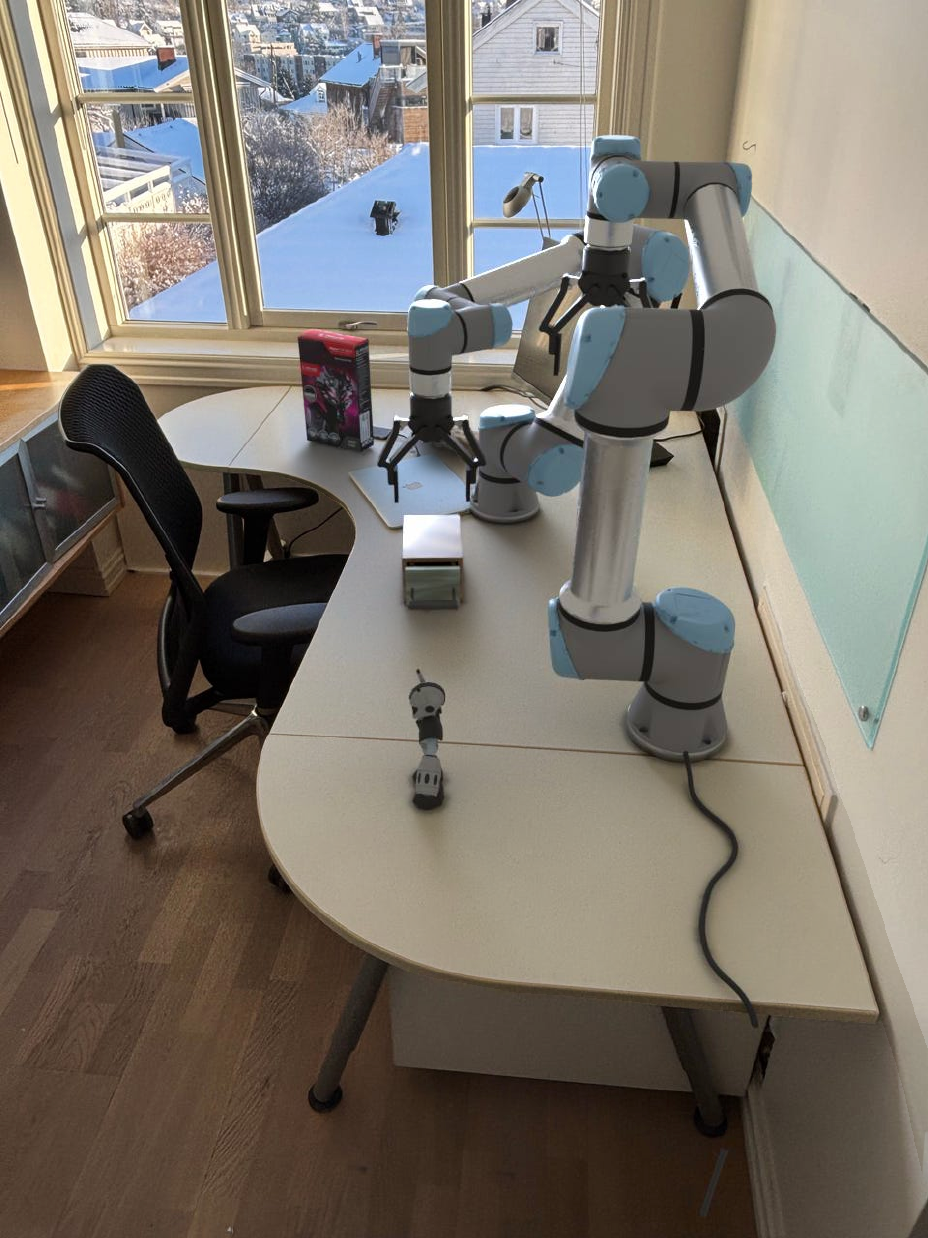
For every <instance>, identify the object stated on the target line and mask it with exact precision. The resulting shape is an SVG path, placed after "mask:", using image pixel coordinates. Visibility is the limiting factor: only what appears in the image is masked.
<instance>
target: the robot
mask: <svg viewBox="0 0 928 1238" xmlns="http://www.w3.org/2000/svg"><path fill="white" fill-rule="evenodd" d="M415 670H416V671H415V672H416V675H417V677H418V680H419V682H420V683H418V684H416V685H415V686H414V687H412V689H410V692H409V694H408V700H409V705H410V707H411V711H412V712H411V715H412V719H414V720H415V725H416V727H417V728H418V744H419V746H420V748H421V751H422V754H423V755H422V757H421V759H420V762H419V764H418V767H417V769H416V770H415V771H414V772H413V774H412V775H411V777H412V780H413V783H414V784H415V793H414V796H413V798H412V803H413V804H414V805H415V806H416V807H417V808H418V809H421V810H432V809H435V808H436V807H439V806H441V805H442V804H443V802H444V799H445V794H444V787H443V784H442V782H443V781H444V773H443V769H442V764H441V761H440V758H439V757H438V756H437V753H438V750H439V741H441V742H442V741H443V739H444V729H443V724H442V722H441V714H442V713H443V710H442V706H444V704H445V703H446V692H445V690H444V687H442V686H441V685H440V684H438V683H437V682H435V681H429V680H428V681H426V679H425V677H424V676H423V674H422V671H421V670H420V669H419V668H417V669H415Z"/></svg>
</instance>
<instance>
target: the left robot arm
mask: <svg viewBox="0 0 928 1238" xmlns="http://www.w3.org/2000/svg"><path fill="white" fill-rule="evenodd" d="M584 236H585V229H583V230H579V231H577V232H574V233H571V234H568V235H566V236H565V237H563V238H562V240H561V242H560V244H558V245H555V246H552V247H549V248H547V249H544V250H542V251H539V252H537V253H533V254H531V255H528V256H526V257H523V258H520V259H518V260H515V261H513V262H510V263H507V264H505V265H502V266H500V267H497V268H494V269H492V270H489V271H486V272H483V273H481V274H478V275H476V276H473V277H470V278H468V279H465V280H462V281H459V282H457V283H454V284H451V285H448V286H446V287H441V286H439V285H430V284H429V285H426V286H423V287H422V288H421V289H419V290H418V292H416V294H415V296H414V298H413V302H412V303H411V305H409V307H408V313H407V314H408V315H407V329H406V333H407V343H408V346H407V347H408V365H409V366H408V381H409V382H408V383H409V384H408V385H409V387H408V388H409V392H410V393H409V417H408V418H405V417H401V416H400V415H396V414H395V415H394V416H393V422H392V428H391V429H390V432H389V434H388V435H387V439H386V440H385V442H384V444H383V446H382V449H381V451H380V453H379V455H378V457H377V461H376V465H377V467H378V468H381V469H382V468H383V469H385V470H386V474H387V475H386V476H387V484H388V486H393V496H394V497H393V499H394V501H393V502H394V503H395V504H399V499H400V495H399V494H400V492H399V491H400V489H399V467H398V464H399V463H400V462H401V460H403V458H404V457H405V456H406V455H407V454H408V453H409V452H410V451H411V449H413V447H414V446H416V445H417V443H418V442H419V441H420V442H422V443H423V444H429V443H433V442H435V443H440V441H443V440H444V441H445V442H446V443H447V444H448V445H450V446H451V448H452V449H453V450H452V451H454V452H455V453H456V454H457V455H458V456H459V458H460V459H461V460H462V461H463V462H464V463H465V502H466V503H469V510H470V512H471V514H472V515H474V516H475V517H476V518H478V519H481V520H483V521H486V522H490V523H496V524H516V523H522V522H524V521H528V520H530V519H531V518H533V517H534V516H536V515H537V513H538V511H539V497H538V494H537V493H539V494H541V495H542V496H545V497H550V498H553V497H555V498H556V497H561V496H562V495H564V494H568V493H569V492H570V491H572V490H574V488H576V487H577V485H579V484H580V478H581V467H582V456H583V445H584V434H585V432H584V431H583V430H582V429H581V428H580V427H579V426H578V425H577V424H576V422H575V420H574V410H572V409H571V408H568V407H566V406H565V404H564V385H565V379H566V375H565V376H564V378H563V379H562V382H561V383H560V385H559V387H558V389H557V391H556V393H555V395H554V397H553V399H552V401H551V403H550V404H549V407H548V409H547V410H546V411H543V412H540V413H538V414H536V412H535V409H534V408H533V407H531V406H528V405H525V404H500V405H495V406H492V407H488V408H487V409H485V410H484V411H483V412H482V413H481V414H480V416H479V423H478V430H477V431H479V444H478V442H477V440H476V438H475V436H474V434H473V432H472V431H473V429H472V428H471V426H470V421H469V415H468V414H463V415H462V416H460V417H454V416H453V395H452V389H453V387H452V386H453V385H452V384H453V383H452V381H453V378H452V377H453V374H452V373H453V369H452V368H453V366H452V365H453V356H459V355H465V354H471V353H475V352H480V351H487V350H493V349H496V348H499V347H502V346H505V345H507V344H508V343H509V342H510V340H511V338H512V335H513V326H514V325H513V318H512V315H511V312H510V311H509V309H508V308H510V307H513V306H515V305H518V304H520V303H523V302H526V301H529V300H531V299H533V298H536V297H539V296H541V295H544V294H546V293H549V292H551V291H554V290H557V289H560V287H561V281H562V278H563V276H564V274H565V273H569V274H570V276H575V277H580V276H581V274H582V263H583V250H584V247H585V246H586V245H588V244H587V243H585V242H584ZM628 247H629V248H630V249H631V255H630V265H629V279H630V280H640V279H641V278H642V277H645V278H646V279H647V292H648V295H649V298H650V301H651V303H652V306H653V308H661V305H662V303H666V302H670V301H672V300H674V298H677V297H678V296H679V295H680V294H682V292H683V290H684V289H685V287H686V284H687V283H688V280H689V276H690V271H691V259H690V252H689V248H688V247H687V244H686V243H685V242H684V240H683V239H681V238H680V237H679V236H678V235H675V234H672V233H670V232H667V231H666V230H665V229H656V228H651V227H648V226H644V225H641V224H637V223H634V226H633V235H632V243H631V244H630V245H628ZM624 296H625V297H626V299H627V300H628V302H629V304H630V305H631V307H632V308H643V306H642V303H641V301H640V297H639V294H636V293H635V292H634V289H633V288H629V290H628V291H627V292H626V293H625V295H624ZM611 307H617V305H614V306H611ZM600 308H608V307H605V306H602V305H601V306H600ZM454 426H456V427H458V428H459V429H460V430H463V432H464V435H465V437H466V439H467V441H468V443H469V444H470V446H471V448H472V450H473V452H474V454H475V456H476V457H475V456H473V455H471V454H470V453H469V452H468V451H467V450H466V449H465V448H464V447H463V445H462V444H461V443H460V442H459V441H458V440H457V439H456V438H455V437H454V435H453V434H452V432H451V430H452V428H453V427H454ZM405 427H408V428H409V429H410V431H411V432H410V433H409V435H408V437H406V439H405V440H404V441H403V442H402V444H401V445H400V446H399V447H398V448H397V449H396V451H395V452H394V453H393V454H392V455H391V457H389V456H390V454H391V451H392V449H393V448H394V445H395V443H396V441H397V439H398V437H399V435H400V432H401V431H403V430H405ZM388 457H389V458H388ZM477 469H478V470H477ZM477 471H478V475H477ZM471 485H472V486H471ZM470 505H471V507H470ZM471 508H472V509H471Z"/></svg>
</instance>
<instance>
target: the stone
mask: <svg viewBox="0 0 928 1238" xmlns="http://www.w3.org/2000/svg"><path fill="white" fill-rule="evenodd" d="M451 432H452V434H453V435H454V437H455V438H456V439H457V440H458V441H459V442H460V443H461V444H462V445H463V447H464V448H465V449H466V450H467V451H468V452H469V453H470V454H471V455H472V456H473V457H474V458H476V456H475V454H474V452H473V450H472V448H471V446H470V444H469V443H468V441H467V439H466V437H465V435H464V432H463V430H460V429H459V428H458V426H456V425H454V427H453V428H452V430H451ZM472 432H473V434H474V436H475V438H476V440H477V442H478V444H479V430H472ZM432 443H433V446H434V447H437V448H443V447H444V448H445V449H449V450H450V451H454V450H453V449H452V448H451V446H450V445H448V444H447V443H446V442H445V441H444V440H443V441H440V443H435V442H432Z"/></svg>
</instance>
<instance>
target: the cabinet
mask: <svg viewBox="0 0 928 1238" xmlns="http://www.w3.org/2000/svg"><path fill="white" fill-rule="evenodd" d="M462 539H463V538H462V524H461V515H460V514H417V515H416V514H415V515H414V514H408V515H407V514H405V515H403V527H402V550H401V551H402V553H401V562H402V563H401V564H402V566H401V568H402V595H403V596H402V597H403V603H404V604H406V575H405V567H406V566H410V562H456V566H460V603H463V600H464V599H463V595H464V593H463V591H464V590H463V589H464V587H463V586H464V585H463V584H464V553H463V540H462Z"/></svg>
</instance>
